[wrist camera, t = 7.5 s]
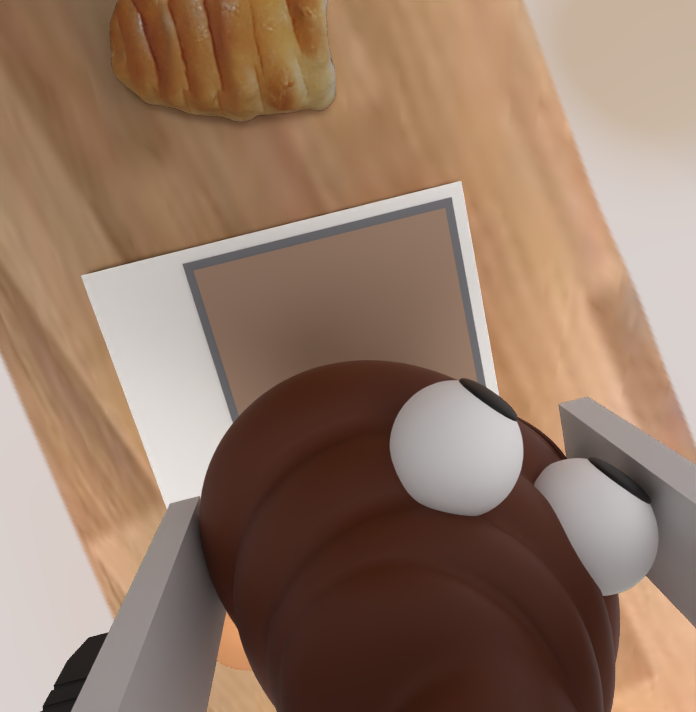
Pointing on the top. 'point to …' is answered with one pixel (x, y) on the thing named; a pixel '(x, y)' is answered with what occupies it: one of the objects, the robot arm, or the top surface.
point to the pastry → (225, 55)
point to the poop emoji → (418, 548)
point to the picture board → (287, 317)
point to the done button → (232, 647)
